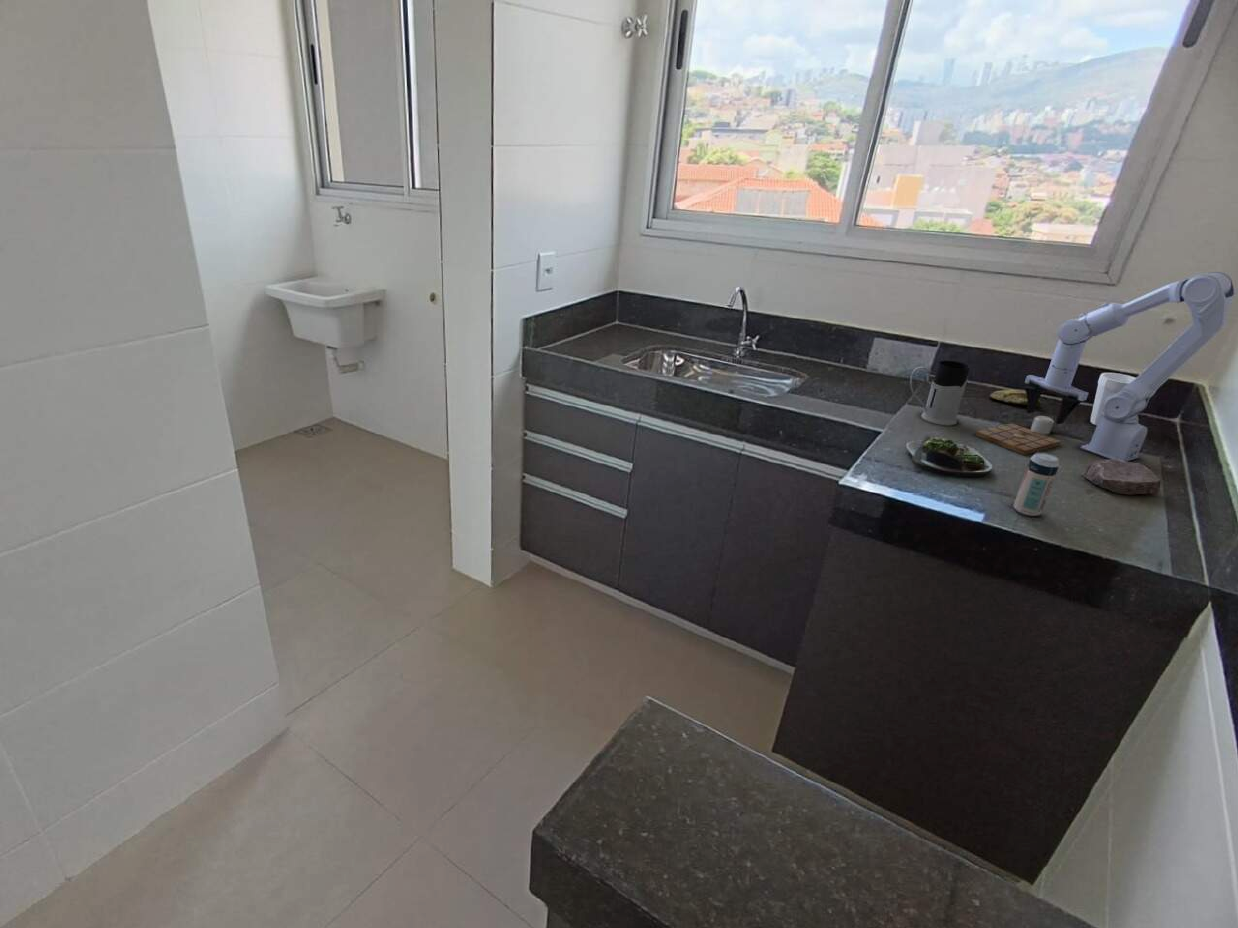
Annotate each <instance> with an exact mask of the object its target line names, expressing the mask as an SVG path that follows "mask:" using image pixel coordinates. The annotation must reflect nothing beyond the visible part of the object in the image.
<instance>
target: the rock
mask: <svg viewBox="0 0 1238 928" xmlns="http://www.w3.org/2000/svg"><path fill="white" fill-rule="evenodd" d="M989 397H990V398H991V399H993V400H997V401H999V402H1003V403H1006V404H1013V405H1022V406H1023V405H1025V406H1027V395H1026V391H1025V389H1003V390H997V391H993V392H992V393H990V395H989ZM1040 399H1041V398H1039V400H1038V403H1037V406H1041V405H1042V402H1041V400H1040Z"/></svg>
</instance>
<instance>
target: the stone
mask: <svg viewBox="0 0 1238 928" xmlns="http://www.w3.org/2000/svg"><path fill="white" fill-rule="evenodd" d="M1084 478H1085V479H1087V480H1088V481H1090V482H1091V483H1092V484H1094V485H1097V486H1099V487H1100V488H1103V489H1106V490H1108V491H1110V492H1112V493H1117V494H1123V495H1137V494H1139V495H1145V494H1158V493H1159V492H1160V489H1161V482H1162V480H1161V479H1160V477H1158V476H1157V475H1156V474H1154V471H1152V470H1150V468H1148V467H1147V466H1145V465H1144V464H1142V463H1141V462H1132V461H1126V462H1122V461H1119V460H1115V459H1101V460H1095V461H1093V462H1092V463H1091V464H1088V466H1087V468H1086V470H1085V471H1084Z"/></svg>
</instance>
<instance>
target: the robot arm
mask: <svg viewBox="0 0 1238 928" xmlns="http://www.w3.org/2000/svg"><path fill="white" fill-rule="evenodd" d="M1235 295H1236V290H1235V285H1234V282H1233V279H1232V277H1231V276H1230V275H1229V274H1227V273H1225V272H1222V271H1212V272H1211V271H1210V272H1208V273H1202V274H1197V275H1194V276H1191V277H1190V278H1185V279H1182V280H1178V281H1175V282H1172V283H1169V284H1166V285H1164V286H1162V287H1159V288H1157V289H1155V290H1153V291H1151V292H1148V293H1146V294H1144V295H1142V296H1139V297H1137V298H1135V299H1133V300H1131V301H1128V302H1126V303H1124V304H1123V303H1118V302H1111V303H1110V302H1105V303H1103V304H1101V305H1100V308H1097V309H1095V310H1093V311H1090V312H1088V313H1086V312H1083V313H1081V314H1079V318H1075V319H1074V318H1073V319H1068V320H1067V321H1065V322H1063V323H1062V324H1060V326H1059V328H1058V330H1057V337H1058V341H1057V345H1056V347H1055V349H1054V352H1053V355H1052V358H1051V360H1050V362H1049V363H1050V364H1049V367H1048V369H1047V372H1046V375H1045V377H1040V376H1036V375H1032V374H1029V375H1027V376H1026V378H1025V381H1024V384H1027V385H1026V386H1024V391H1026V395H1027V405H1026V406H1027V407H1026V413H1027V414H1029V415H1030V414H1034V413H1035V412H1036V409H1037V406H1038V405H1037V403H1038V400H1039V399H1041V397H1042V395H1043V393H1044V391H1045V389H1046V390H1048V391H1051V392H1054V393H1058V394H1061V395H1064V396H1066V397H1062V399H1061V405H1060V410H1059V412H1058V415H1057V417H1056V422H1055V424H1057V425H1061V424H1062V425H1063V424H1064V422H1065V420H1066V419H1067V418H1068V416H1069V415H1070V414H1071V413H1072V411H1074V410H1075V408H1077V407H1078V406H1079V405H1080V404H1081V403H1083V402H1084V401H1087V398H1088V396H1089V392H1087V391H1084V390H1082V389H1079V388H1077V387H1075V386H1073V385H1072V383H1073V380H1074V377H1075V375H1076V372H1077V369H1078V366H1079V364H1080V362H1081V358H1082V356H1083V353H1084V350H1085V347H1086V344H1087V342H1088V341H1090V340H1091V339H1092V338H1093V337H1097V336H1099V335H1102V334H1105V333H1107V332H1109V331H1113V330H1114V329H1117V328H1120V327H1123V326H1125V325H1126V324H1127V322H1128V321H1129V319H1130V317H1132V316H1135V315H1137V314H1140V313H1143V312H1145V311H1148V310H1150V309H1153V308H1156V307H1159V306H1162V305H1164V304H1167V303H1177V304H1179V303H1183V302H1185V303H1186V306H1188V308H1189V309H1190V312H1191V313H1190V314H1191V318H1192V323H1191V324H1190V325H1189V326H1188V327H1187V328H1186V329H1185V330H1184V331H1183V332H1182V333H1181V334H1180V335H1179V336H1178V337H1177V338H1176V339H1174V341H1172V343H1171V344H1169V346H1167V348H1165V349H1164V350H1163V351H1162V352H1161V353H1160V354H1159V355H1158V356H1157V357H1156V358H1155V359H1154V360H1153V361H1152V362H1151V363H1150V364H1148V366H1146V368H1145V369H1143V371H1141V373H1140V374H1138V375H1137V376H1136V377H1135V378H1136V379H1134V380H1133V381H1132V382H1131V383H1129V384H1128V385H1127V386H1125V387H1124V388H1123V389H1122V390H1121V391H1120V392H1118V393H1116V394H1113V395H1111V396H1109V397H1107V398H1106V399H1105V400H1104V402H1103V405H1102V410H1103V412H1102V414H1101V417H1100V419H1099V422H1098V424H1097V425H1096V427H1095V429H1094V431H1093V435H1092V437H1091V440H1090V441H1089V443H1087V444H1084V445H1081V446H1080V449H1082V450H1084V451H1087V452H1090V453H1093V454H1095V455H1098V456H1101V457H1103V458H1106V459H1108V460H1111V459H1115V460H1119V461H1122V462H1131V461H1132V460H1136V459H1138V458H1139V454H1140V451H1141V449H1142V447H1143V445H1144V443H1145V440H1146V437H1147V435H1148V427H1147V426H1144V425H1142V424H1140V423H1139V415H1138V414H1140V413H1141V412H1143V411H1144V410H1145V409H1146V408H1147V406H1148V403H1149V401H1150V399H1151V397H1153V396H1154V395H1155V394H1156V393H1157V390H1158V389H1159V388H1160V387H1161V386H1163V384H1165V383H1166V382H1167V381H1168V380H1169V379H1170V378H1171V377H1172V376H1174V375H1175V373H1177V372H1178V371H1179V370H1180V369H1181V368H1182V367H1183V366H1185V364H1186V363H1188V361H1189V360H1190V359H1192V358H1193V357H1194V356H1195V355H1196V354H1197V353H1198V352H1199V351H1200V350H1202V349H1203V348H1204V347H1205V346H1206V345H1207V344H1208V343H1209V342H1210V341H1211V340H1212V339H1214V337H1216V336H1217V335H1218V334H1219V333H1220V332H1221V331H1222V330H1223V329H1224V328H1225V327H1226V326H1227V324H1228V320H1229V315H1230V311H1231V307H1232V302H1233V299H1234V298H1235Z"/></svg>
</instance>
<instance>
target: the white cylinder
mask: <svg viewBox="0 0 1238 928" xmlns="http://www.w3.org/2000/svg"><path fill="white" fill-rule="evenodd" d="M1054 422H1055V421H1054V419H1053V418H1051V417H1050V416H1046V415H1037V416H1034V419H1033V420H1032V424H1031V426H1030V430H1032V431H1034V432H1037V433H1040V434H1042V435H1050V434H1051V431H1052V429H1053V426H1054Z"/></svg>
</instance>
